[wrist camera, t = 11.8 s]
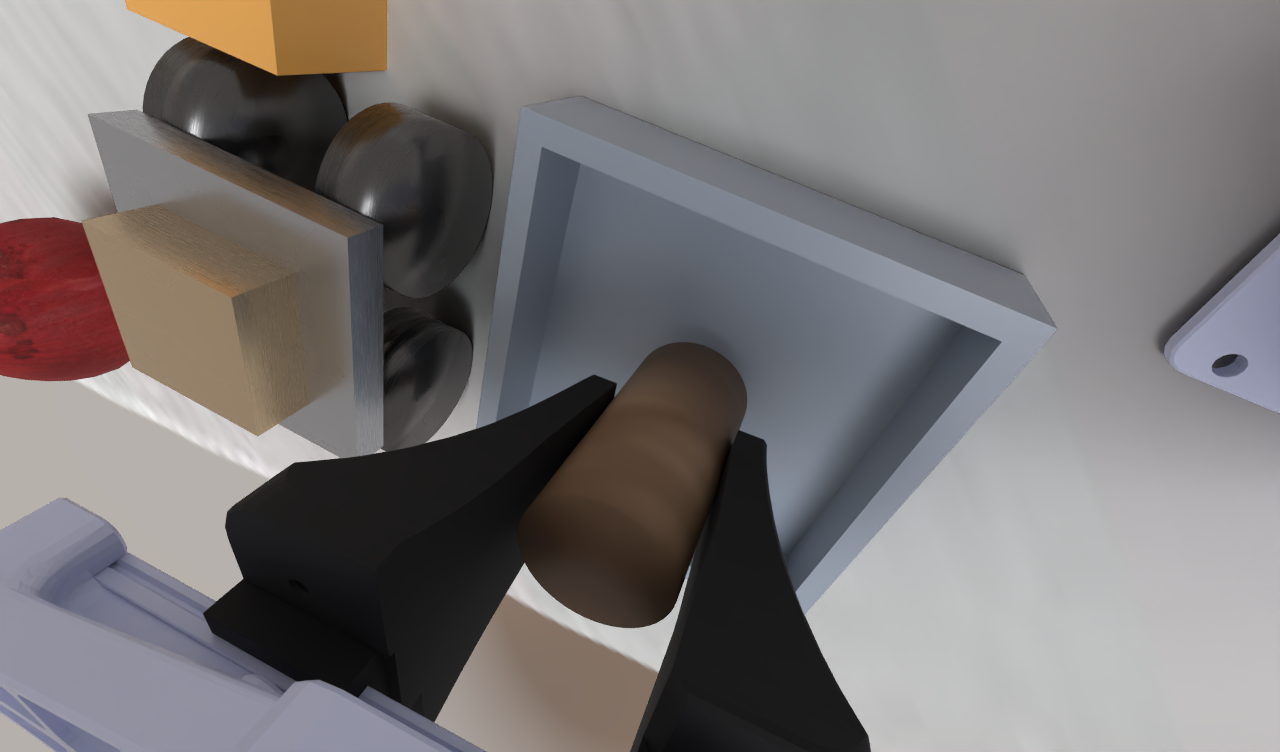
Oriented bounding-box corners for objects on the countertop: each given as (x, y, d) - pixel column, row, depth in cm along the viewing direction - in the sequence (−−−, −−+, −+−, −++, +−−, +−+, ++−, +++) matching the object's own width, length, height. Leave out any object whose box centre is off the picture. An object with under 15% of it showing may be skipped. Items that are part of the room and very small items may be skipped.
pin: (762, 364, 13) (697, 540, 8) (730, 457, 15) (659, 651, 10) (646, 326, 14) (522, 469, 9) (627, 419, 15) (513, 584, 10)
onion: (109, 165, 21) (-228, 217, 15) (228, 268, 22) (-48, 362, 15) (108, 266, 25) (-164, 345, 18) (211, 353, 25) (-19, 460, 19)
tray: (1024, 275, 12) (1058, 328, 10) (800, 560, 18) (789, 632, 16) (580, 95, 13) (521, 106, 11) (517, 417, 20) (471, 465, 18)
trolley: (504, 121, 14) (271, 168, 9) (468, 407, 21) (317, 541, 15) (290, 31, 15) (-39, 24, 10) (317, 330, 22) (122, 429, 16)
